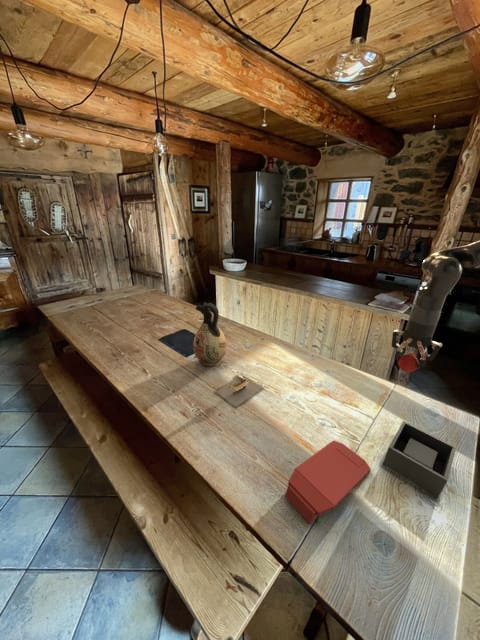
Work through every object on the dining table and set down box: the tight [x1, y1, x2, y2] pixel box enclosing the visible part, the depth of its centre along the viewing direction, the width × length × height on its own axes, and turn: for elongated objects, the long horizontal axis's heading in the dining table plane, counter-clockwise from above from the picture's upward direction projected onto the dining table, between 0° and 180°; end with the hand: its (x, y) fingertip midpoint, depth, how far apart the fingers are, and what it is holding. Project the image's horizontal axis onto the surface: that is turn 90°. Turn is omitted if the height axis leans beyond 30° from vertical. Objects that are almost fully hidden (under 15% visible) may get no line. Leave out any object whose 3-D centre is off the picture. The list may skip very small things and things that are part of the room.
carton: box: [284, 439, 372, 525], centre depth 73 cm, size 12×5×25 cm
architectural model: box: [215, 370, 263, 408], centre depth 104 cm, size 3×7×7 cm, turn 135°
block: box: [403, 438, 438, 470], centre depth 76 cm, size 7×7×5 cm
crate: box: [382, 420, 457, 499], centre depth 76 cm, size 14×14×8 cm
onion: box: [397, 351, 419, 373], centre depth 90 cm, size 6×6×8 cm
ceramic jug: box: [192, 302, 228, 367], centre depth 117 cm, size 17×15×30 cm
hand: (408, 363), depth 90 cm, fingers closed on onion, 6 cm apart
